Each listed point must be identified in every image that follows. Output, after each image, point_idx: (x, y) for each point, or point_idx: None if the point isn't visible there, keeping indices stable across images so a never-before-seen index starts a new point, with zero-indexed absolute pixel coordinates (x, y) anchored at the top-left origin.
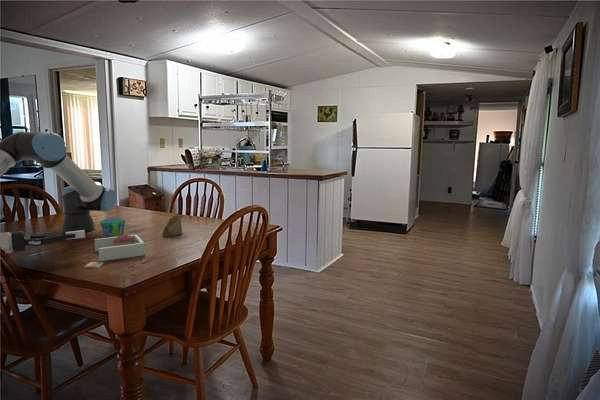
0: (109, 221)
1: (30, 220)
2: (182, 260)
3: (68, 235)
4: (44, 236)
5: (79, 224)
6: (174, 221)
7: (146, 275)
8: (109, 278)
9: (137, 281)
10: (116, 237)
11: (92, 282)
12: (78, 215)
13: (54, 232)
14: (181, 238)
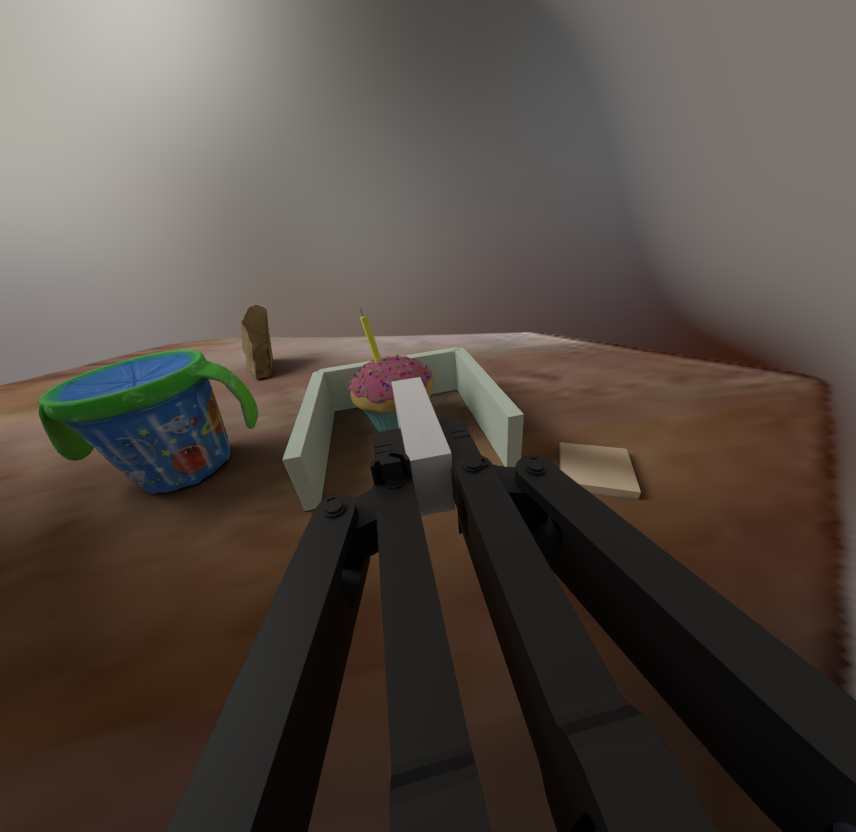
0: (108, 389)
1: None
2: (532, 341)
3: (475, 451)
4: (628, 709)
5: None
6: (266, 323)
7: (673, 364)
8: (747, 413)
9: (737, 369)
10: (315, 402)
11: (832, 443)
12: None
13: (324, 585)
14: (323, 356)
